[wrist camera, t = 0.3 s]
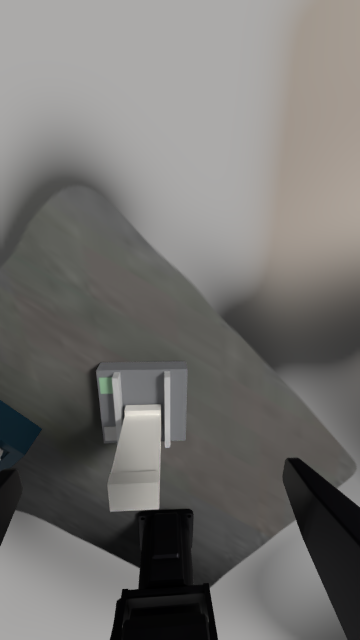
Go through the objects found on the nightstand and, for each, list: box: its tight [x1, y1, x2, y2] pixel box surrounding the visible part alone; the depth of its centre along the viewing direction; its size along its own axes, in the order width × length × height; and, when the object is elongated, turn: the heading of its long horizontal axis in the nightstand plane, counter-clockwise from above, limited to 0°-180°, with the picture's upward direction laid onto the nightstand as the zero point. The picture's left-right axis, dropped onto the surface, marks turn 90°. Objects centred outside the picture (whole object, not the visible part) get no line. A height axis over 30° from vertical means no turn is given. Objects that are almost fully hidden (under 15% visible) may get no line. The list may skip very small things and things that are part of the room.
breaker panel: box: [96, 361, 187, 448], centre depth 22 cm, size 8×8×2 cm
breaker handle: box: [107, 404, 161, 512], centre depth 19 cm, size 3×3×7 cm
